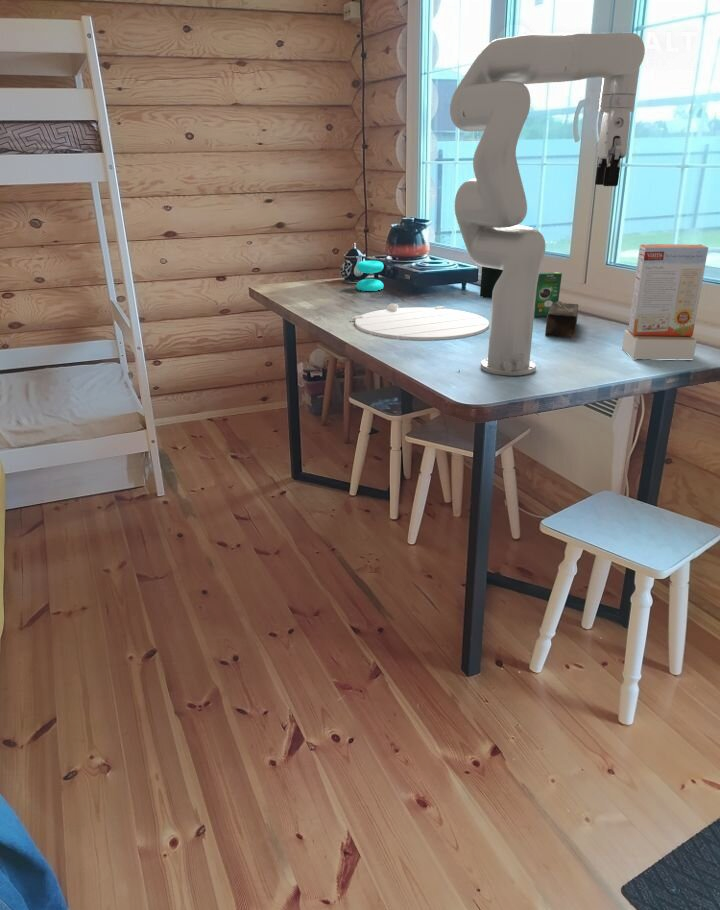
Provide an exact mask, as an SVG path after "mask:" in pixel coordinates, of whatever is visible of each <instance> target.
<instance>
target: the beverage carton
mask: <svg viewBox="0 0 720 910" xmlns="http://www.w3.org/2000/svg"><path fill="white" fill-rule="evenodd" d="M578 311H579V304H577V303H567V302H565V303H564V302H563V301H560V300H558V302H556V303H552V305H551V307H550V310H549V312H548V316H546V323H545V332H544V333H545V334H544V335H545V336H546V337H547V336H548V337H556V338H557V337H558V338H567V339H568V338H569V339H573V338H574V336H575V333H576V327H577V324H578V317H579V314H578V313H579V312H578Z"/></svg>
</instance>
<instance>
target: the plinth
mask: <svg viewBox="0 0 720 910" xmlns="http://www.w3.org/2000/svg"><path fill="white" fill-rule="evenodd" d="M697 342H698V340H697V339H696V338H694V337H693V336H639V335H633V334H632V333H631V332H630V331H629V330H628V328H626V329H624V333H623V339H622V345H621V350H622V349H623V350H624V351H625V352H627V353H628V354H629V355H630V356H631V357H632V358H633V359H693V360H694V357H695V356H694V355H695V352H696V346H697ZM623 350H622V351H623ZM624 351H623V352H624ZM625 352H624V353H625ZM632 358H631V359H632ZM633 359H632V360H633Z"/></svg>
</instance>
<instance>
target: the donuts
mask: <svg viewBox="0 0 720 910" xmlns="http://www.w3.org/2000/svg"><path fill="white" fill-rule="evenodd" d="M355 266H356V270H357V271H358V272H360V273H363V274H364V273H365V274H376V273H380V272H382V271H383V269H384V266H385V265H384V263H383V262H382V261H379V260H362V261H358V262H357V263H356V265H355ZM384 288H385V287H384V282H382V281H381V280H379V279H377V278H364V279H360V280H359V281H358V282H357V283H356V289H357V290H358V291H360V290H361V291H360V292H365V291H375V292H379V291H378V290H380V291H382V290H383V289H384ZM381 289H382V290H381Z"/></svg>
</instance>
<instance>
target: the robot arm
mask: <svg viewBox="0 0 720 910" xmlns="http://www.w3.org/2000/svg"><path fill="white" fill-rule="evenodd" d="M645 49H646V48H645V43H644V41H643V39H642V37H641V36H640V35H638V34H637V33H633V32H618V33H617V32H613V33H612V32H609V33H608V32H607V33H529V34H528V33H527V34H522V35H515V36H510V37H509V36H508V37H503V38H496V39H493V40H492V41H490V42H489V43H488V44H486V46H485V47H484V48H483V49H482V50H481V52H480V53H479V54H478V55H477V57H476V58H475V60H474V61H473V63H472V64H471V65H470V68H468V70H467V72H466V73H465V75H464V77H463V78H462V79H461V81H460V82H459V84H458V85H457V87H456V88H455V90H454V93H453V95H452V98H451V101H450V105H449V115H450V119H451V122H452V123H453V124H454V126H455V127H456V128H457V129H458V130H460V131H463V132H483V133H482V136H481V137H480V140H479V142H478V144H477V146H476V148H475V152H474V154H473V160H472V166H473V172H474V175H475V176H474V178H471V179H468V180H466V181H464V182H463V183H461V185H460V187H459V188H458V189H457V191H456V195H455V199H454V214H455V218H456V222H457V225H458V227H459V231H460V233H461V237H462V239H463V242H464V245H465V249H466V251H467V254H468V256H469V259H471V262H473V263H474V264H475V265H477V266H480V267H481V268H482V267H487V268H494V269H500V270H503V272H502V274H501V276H500V277H499V279H498V280H497V282H496V284H495V286H494V289H493V293H492V298H491V307H490V308H491V309H490V322H489V336H488V339H489V340H488V350H487V351H488V353H487V358H484V359H482V360H481V361H480V368H481V370H482V371H484V372H487V373H489V374H493V375H499V376H512V377H514V376H515V377H517V376H525V375H530V374H533V373H534V372H535V371H536V370H537V364H536V363H535V362H534V361H532V360H531V352H532V349H531V348H532V342H533V341H532V340H533V330H534V329H533V328H534V321H535V320H534V318H535V317H534V310H535V299H536V290H537V282H538V277H539V273H541V268H542V264H543V261H544V258H545V254H546V240H545V237H544V235H543V234H542V233H541V231H539V230H538V229H536V228H534V227H531V226H526V225H520V224H521V223H522V222H523V221H524V219H525V218H526V216H527V215H528V214H527V213H528V203H527V201H528V200H527V197H526V194H525V193H526V192H525V188H524V185H523V181H522V177H521V173H520V169H519V164H518V161H517V160H518V159H517V146H518V142H519V138H520V135H521V133H522V130H523V127H524V125H525V123H526V120H527V119H528V116H529V114H530V109H531V94H530V92H529V89H528V87H527V86H526V85H531V84H548V83H550V84H551V83H564V82H573V81H580V80H586V79H590V78H591V79H594V78H602V84H601V91H600V98H599V105H598V113H602V117H601V124H600V131H599V138H598V144H597V146H598V147H597V157H598V162H597V167H596V171H595V172H596V173H595V182H594V184H595V185H596V186H603V187H617V186H619V179H620V171H621V163H622V161H621V159H624V158H626V156H627V154H628V153H627V152H628V144H629V136H630V135H629V134H630V123H631V122H630V121H631V113H632V112H634V108H635V101H636V94H637V90H638V89H637V88H638V82H639V73H640V68H641V65H642V63H643V61H644V58H645V54H646V53H645V51H646V50H645Z"/></svg>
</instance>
